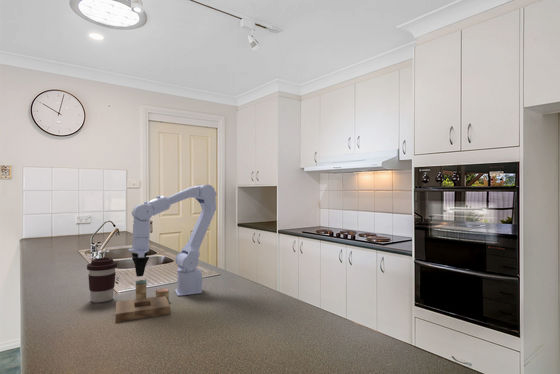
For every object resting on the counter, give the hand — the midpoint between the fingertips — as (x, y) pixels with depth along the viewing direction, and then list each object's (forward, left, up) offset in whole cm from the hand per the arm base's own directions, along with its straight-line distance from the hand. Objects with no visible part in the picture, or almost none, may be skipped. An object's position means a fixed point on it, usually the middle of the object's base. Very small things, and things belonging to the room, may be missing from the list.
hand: (139, 273), depth 120 cm
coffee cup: (+12, -7, -10) cm, 17 cm away
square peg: (-1, 0, -10) cm, 10 cm away
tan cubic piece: (-8, +4, -10) cm, 13 cm away
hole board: (-1, +12, -10) cm, 16 cm away
